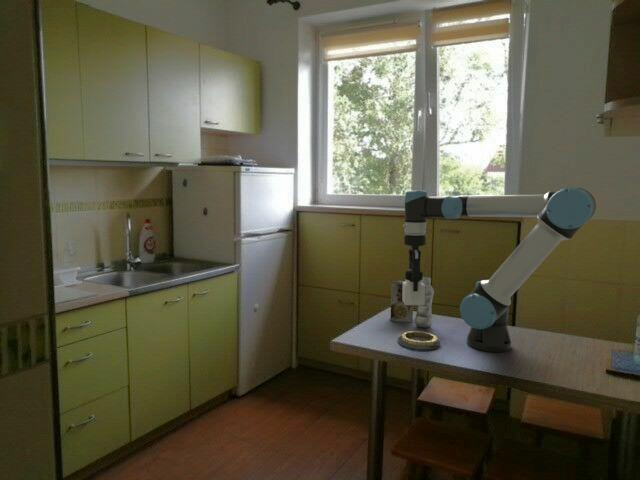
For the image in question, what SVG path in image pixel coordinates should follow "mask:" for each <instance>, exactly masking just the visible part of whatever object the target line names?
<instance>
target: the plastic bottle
mask: <svg viewBox="0 0 640 480" xmlns="http://www.w3.org/2000/svg"><path fill="white" fill-rule="evenodd" d="M431 281H432V278H431V277H428V276H424V277H423V281H422V283H423V284H424V285H425V305H417V310H416V314H415V315H416V316H415V318H414V323H415V325H416V327H418V328H423V329H425V328H427V329H428V328H430V327H431V326H432V325H433V324H432V323H433V318H432V305H433V300H434V294H435V290H434V288H433V286H432V284H431V283H432V282H431Z"/></svg>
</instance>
